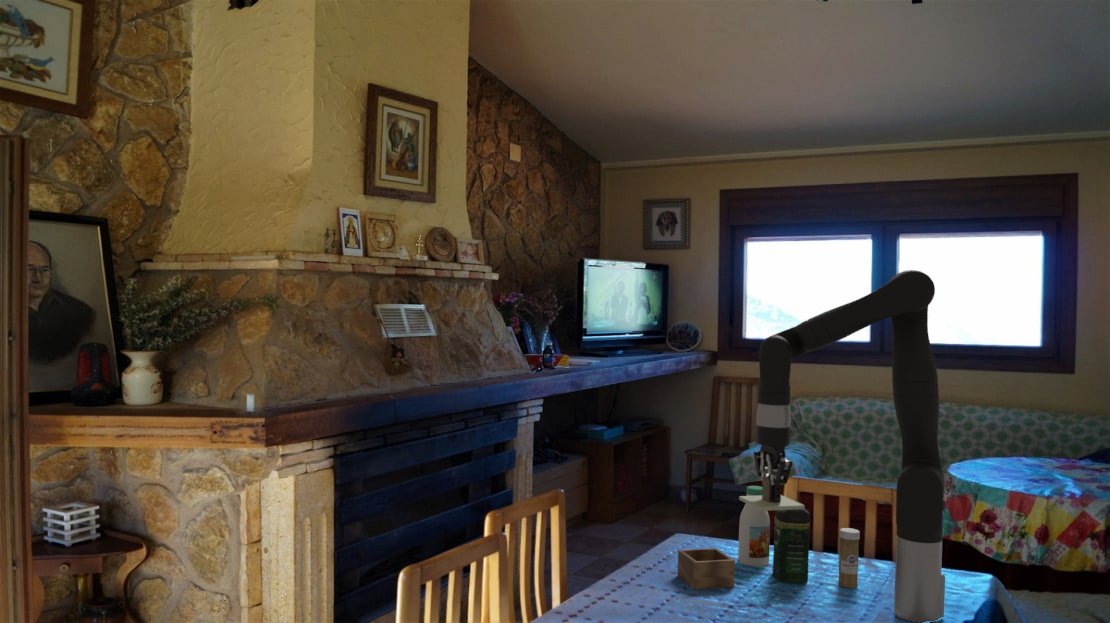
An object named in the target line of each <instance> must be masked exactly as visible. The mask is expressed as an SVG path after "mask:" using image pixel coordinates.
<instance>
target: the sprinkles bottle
mask: <svg viewBox="0 0 1110 623" xmlns="http://www.w3.org/2000/svg"><path fill="white" fill-rule="evenodd" d="M860 532H861V531H860V530H858V529H855V528H851V527H841V528H840V529H839V549H838V583H837V584H838V585H839V586H840V587H841V588H842V587H843V588H848V589H854V588H858V586H859V584H858V577H859V575H858V574H859V554H860V553H859V552H860V551H859V542H860V538H861V536H860Z"/></svg>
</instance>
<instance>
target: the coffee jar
mask: <svg viewBox="0 0 1110 623" xmlns="http://www.w3.org/2000/svg"><path fill="white" fill-rule="evenodd" d="M810 525H811V513H810V512H809V510H808V509H807V508H805V509H791V510H774V538H773V555H772V556H773V559H772V575H773V577H774V579H775V580H776V581H778V582H779V583H785V584H794V585H796V584H797V585H804V584H808V581H809V553H810V552H809V550H810V531H811V530H810V527H811V526H810Z"/></svg>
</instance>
